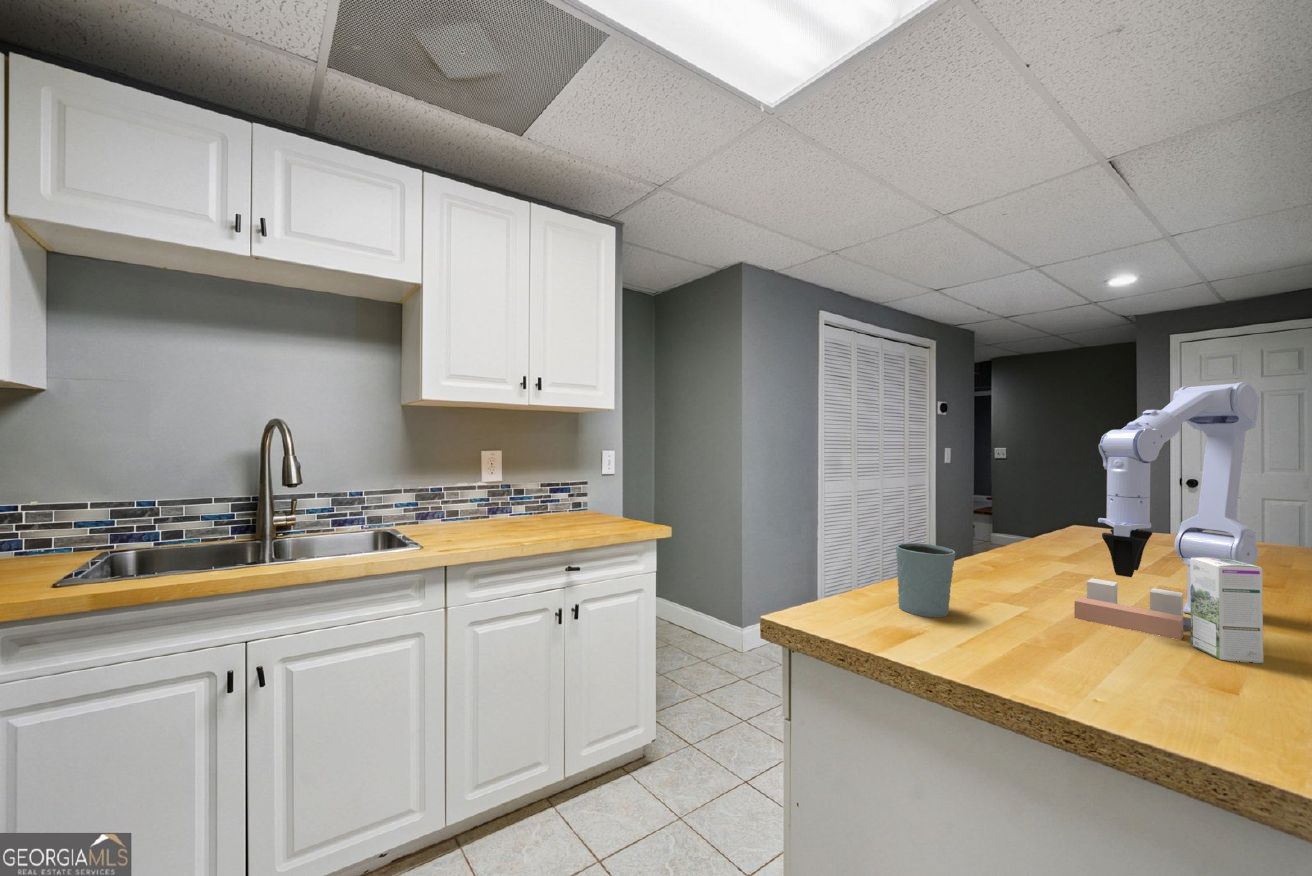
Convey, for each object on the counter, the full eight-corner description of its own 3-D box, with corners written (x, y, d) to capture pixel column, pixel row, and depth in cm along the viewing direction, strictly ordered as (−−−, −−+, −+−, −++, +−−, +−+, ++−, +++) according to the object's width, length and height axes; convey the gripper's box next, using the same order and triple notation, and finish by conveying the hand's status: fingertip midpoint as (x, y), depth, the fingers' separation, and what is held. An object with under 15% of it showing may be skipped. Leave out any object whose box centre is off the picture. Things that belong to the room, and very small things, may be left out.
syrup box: (1265, 664, 77) (1266, 566, 77) (1218, 660, 78) (1218, 564, 78) (1231, 649, 83) (1232, 558, 83) (1187, 645, 84) (1188, 556, 84)
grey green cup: (888, 600, 106) (889, 541, 106) (941, 603, 105) (942, 543, 105) (905, 617, 96) (906, 552, 96) (964, 620, 95) (964, 554, 95)
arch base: (1085, 603, 106) (1085, 576, 106) (1191, 623, 94) (1191, 593, 95) (1079, 609, 102) (1079, 581, 102) (1188, 631, 91) (1188, 599, 91)
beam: (1079, 615, 100) (1079, 596, 100) (1183, 636, 89) (1183, 616, 89) (1074, 619, 97) (1074, 600, 97) (1180, 642, 86) (1181, 621, 86)
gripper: (1105, 492, 101) (1104, 562, 101) (1091, 496, 91) (1090, 574, 91) (1155, 495, 95) (1155, 569, 95) (1146, 500, 86) (1145, 583, 86)
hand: (1127, 572), depth 93 cm, fingers open, 7 cm apart
